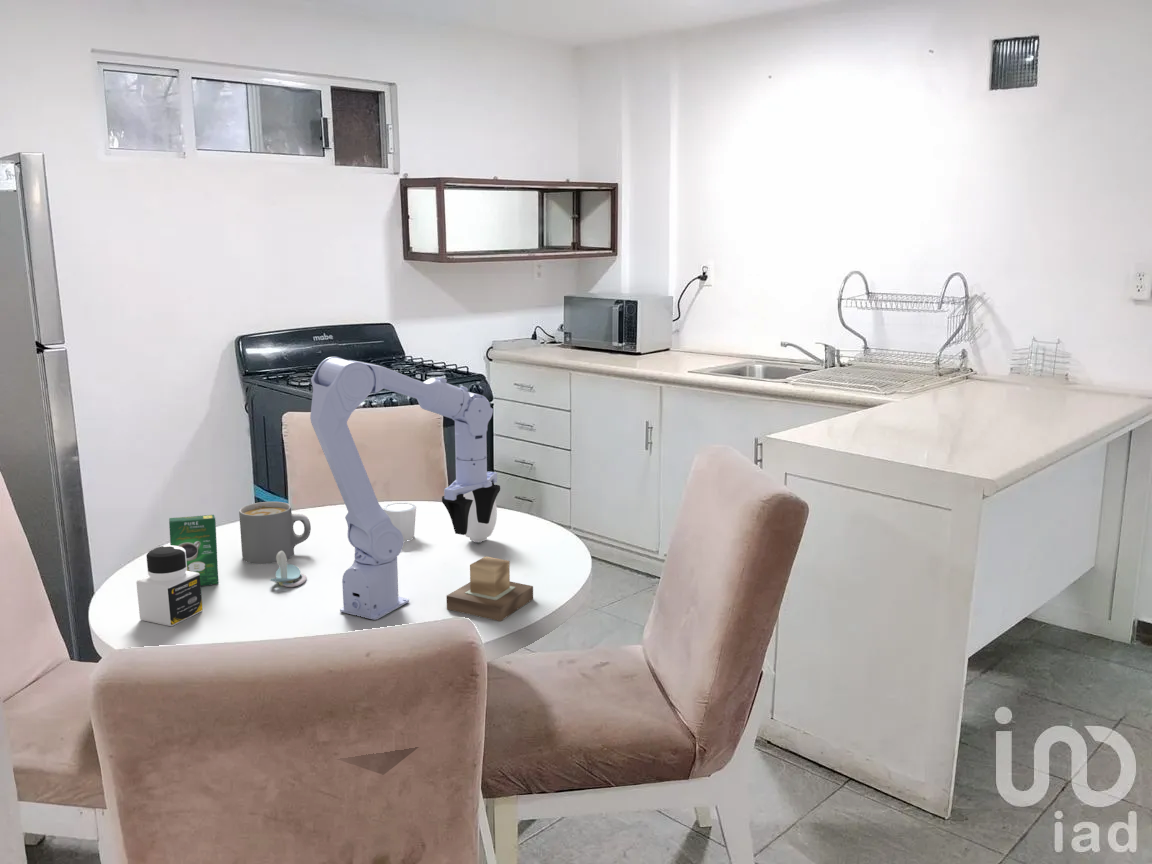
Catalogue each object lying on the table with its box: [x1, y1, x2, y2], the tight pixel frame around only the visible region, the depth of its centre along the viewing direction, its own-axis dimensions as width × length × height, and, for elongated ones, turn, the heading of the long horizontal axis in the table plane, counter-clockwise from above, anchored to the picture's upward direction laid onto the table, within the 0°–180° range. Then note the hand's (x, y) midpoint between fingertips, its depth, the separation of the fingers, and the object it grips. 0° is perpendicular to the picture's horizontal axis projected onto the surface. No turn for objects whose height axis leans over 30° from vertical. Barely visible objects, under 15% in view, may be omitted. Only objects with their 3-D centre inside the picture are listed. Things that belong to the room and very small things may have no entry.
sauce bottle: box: [464, 491, 498, 543], centre depth 193 cm, size 8×8×18 cm
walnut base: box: [446, 581, 534, 622], centre depth 160 cm, size 11×11×3 cm
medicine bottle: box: [135, 544, 203, 627], centre depth 154 cm, size 7×7×12 cm
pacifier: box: [269, 551, 307, 588], centre depth 170 cm, size 7×6×6 cm
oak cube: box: [469, 556, 511, 597], centre depth 160 cm, size 5×5×5 cm
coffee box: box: [168, 514, 220, 587], centre depth 168 cm, size 8×3×13 cm, turn 113°
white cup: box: [383, 502, 417, 542], centre depth 196 cm, size 7×7×7 cm
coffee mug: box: [238, 501, 312, 565], centre depth 184 cm, size 13×10×10 cm
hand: (472, 528), depth 170 cm, fingers open, 7 cm apart
